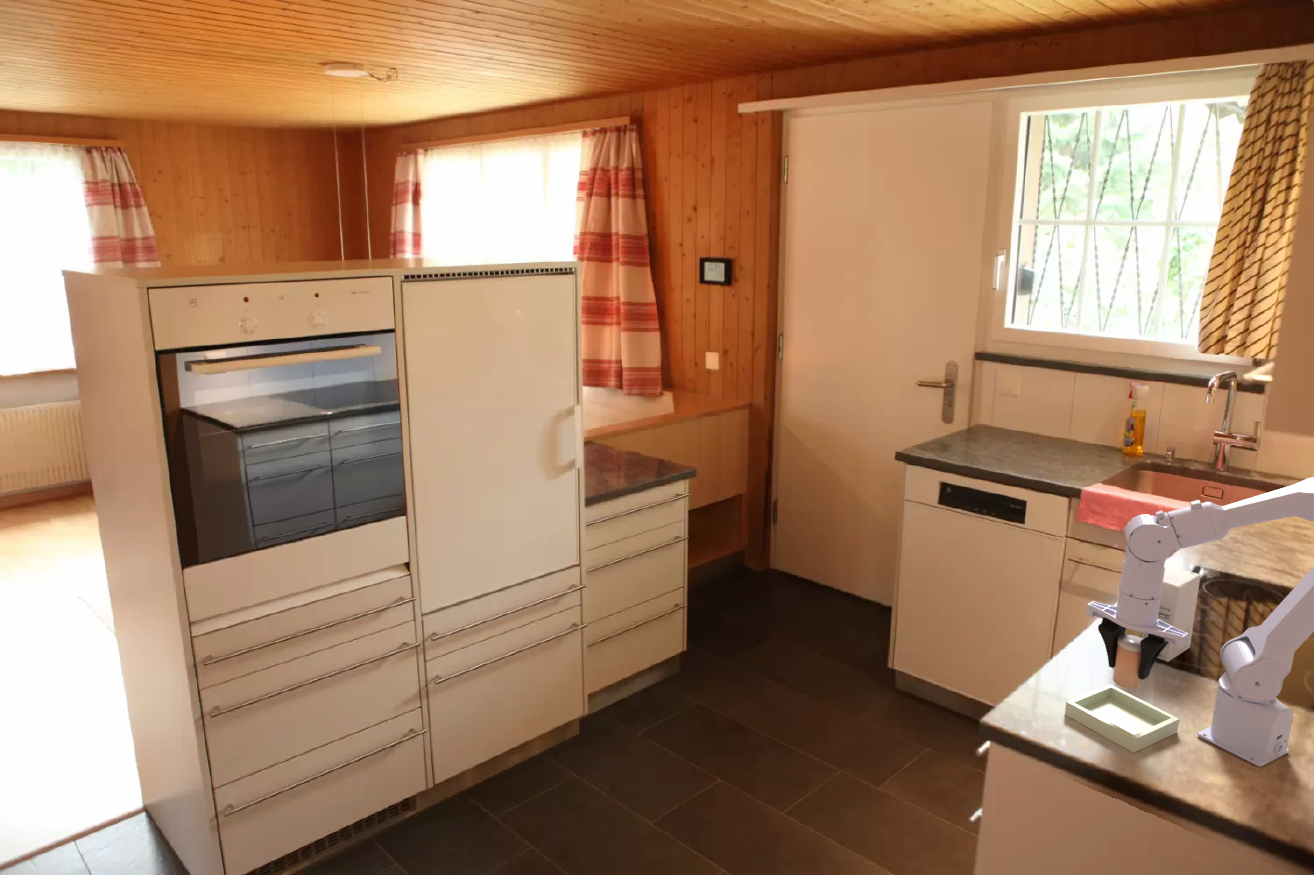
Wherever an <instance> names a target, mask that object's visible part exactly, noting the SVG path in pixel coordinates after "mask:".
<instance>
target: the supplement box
mask: <svg viewBox="0 0 1314 875" xmlns="http://www.w3.org/2000/svg"><path fill="white" fill-rule="evenodd" d="M1164 567H1165V572H1164V579H1163V585H1162V592H1161V599H1160V606H1159V612H1158V619H1159V620H1161V621H1163V622H1165V623H1167V624H1169V625H1171V626H1173V627H1175V628H1177V629H1179V630H1181V631H1184V632H1186V633H1189V635H1188V641H1187V645H1186V646H1184V647H1183V648H1178V647H1176V646H1174V644H1173V643H1170V642H1169V643H1168V644H1167V645H1166V646H1165V648H1164V649H1163V650H1162V651H1161V653H1160V654H1159V656H1158V657H1157V659H1159V660H1162V661H1164V662H1167V663H1169V662H1170V661H1172V660H1173V659H1174V658H1176V657H1178V656H1179V655H1181V654H1182V653H1184V652H1185V651H1188V649H1190V648H1191V643H1192V635H1193V628H1194V623H1195V622H1194V621H1195V617H1196V616H1195V614H1196V609H1197V608H1196V607H1197V604H1198V603H1197V601H1198V594H1199V589H1200V588H1199V587H1200V582H1201V576H1202V575H1201V574H1200V573H1196V572H1192V571H1189V570H1185V569H1184V568H1183V569H1181V568H1179V567H1176V566H1172V565H1169V564H1166V563H1165V564H1164Z"/></svg>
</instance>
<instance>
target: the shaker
mask: <svg viewBox="0 0 1314 875" xmlns="http://www.w3.org/2000/svg"><path fill="white" fill-rule="evenodd" d="M1141 640H1143V638H1140V637H1137V636H1134V635H1121V636H1119V637H1118V641H1117V644H1118V646H1117V653H1116V660H1115V667H1114V668H1113V675H1112V681H1113V682H1114V684H1116V685H1117V686H1119V687H1122V688H1125V689H1130V690H1131V689H1132V690H1135V689H1136V690H1137V689H1140V688H1141V687H1142V683H1143V680H1142V679H1139V678H1138V675H1139V668H1140V663H1141V645H1140V641H1141Z"/></svg>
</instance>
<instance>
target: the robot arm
mask: <svg viewBox="0 0 1314 875" xmlns="http://www.w3.org/2000/svg"><path fill="white" fill-rule="evenodd" d="M1189 504H1190V505H1188V506H1186V507H1182V508H1178V509H1174V510H1170V511H1167V512H1163V510H1158V511H1155V512H1154V513H1155V515H1154V514H1151V515H1150V514H1148V513H1147V514H1139V515H1136V516H1134V517H1132V518H1131V520H1129V521H1128V522H1127V524H1126V525H1125V527H1123V534H1124V537H1125V539H1126V542H1127V544H1126V546H1125V551H1124V559H1123V561H1122V566H1121V574H1120V581H1119V588H1118V595H1117V601H1116V602H1117V603H1116V605H1112V604H1111V605H1110V604H1105V603H1102V602H1097V601H1094V600H1092V601H1091V602H1088V603H1087V604H1086V612H1085V615H1086V616H1087V617H1091V618H1093V617H1096V618H1099V619H1102V620H1101V623H1099V624H1098V627H1097V630H1098V632H1099V634H1100V636H1101V638H1102V640H1103V643H1104V647H1105V650H1106V656H1107V660H1108V661H1107V662H1108V667H1109V668H1112V669H1114V667H1115V660H1116V653H1117V646H1118V644H1117V641H1118V637H1119V636H1121V635H1124V634H1125V631H1126V628H1127V629H1130V630H1135V631H1139V632H1141V633H1144V634H1147V635H1148V637H1146V638H1144V639H1143V640H1141V641H1140V645H1141V663H1140V668H1139V675H1138V678H1139V679H1142V681H1143V680H1146V678H1148V677H1149V676H1150V673H1151V670H1152V668H1153V666H1154V665H1155V662H1156V660H1157V659H1158V658H1157V657H1158V656H1159V654H1160V653H1161V651H1162V650H1163V649H1164V648H1165V646H1166V645H1167V644H1168V643H1169V642H1170V643H1173V644H1174V646H1176V647H1178V648H1183V647H1184V646H1186V645H1187V641H1188V635H1189V633H1186V632H1184V631H1181V630H1179V629H1177V628H1175V627H1173V626H1171V625H1169V624H1167V623H1165V622H1163V621H1161V620H1159V619H1158V612H1159V606H1160V599H1161V592H1162V585H1163V579H1164V572H1165V567H1164V564H1166V559H1168V557H1169V556H1170V555H1171V553H1172V552H1173V551H1178V550H1181V549H1182V550H1183V549H1186V548H1190V547H1194V546H1195V547H1196V546H1198V545H1203V544H1206V543H1211V542H1215V541H1218V540H1219V541H1220V540H1223V539H1225V538H1226V536H1227V535H1228V533H1229V532H1230V531H1231V530H1232V529H1235V528H1239V527H1245V526H1250V525H1254V524H1260V523H1265V522H1266V523H1267V522H1269V521H1275V520H1281V519H1286V518H1291V517H1298V518H1300V519H1303V520H1306V521H1308V522H1311V523H1314V477H1308V478H1306V479H1303V480H1301V481H1298V482H1296V483H1294V484H1292V485H1289V486H1284V487H1281V488H1279V489H1275V490H1272V491H1269V492H1265V493H1261V494H1259V495H1255V496H1252V497H1248V498H1246V499H1245V498H1244V499H1241V500H1239V501H1236V502H1232V503H1228V504H1226V505H1225V504H1224V505H1219V504H1216V503H1214V502H1212V501H1205V502H1201V501H1200V499H1196V500H1193V501H1192V500H1191V501H1190V502H1189ZM1313 633H1314V566H1313V567H1312V568H1311V569H1310V570H1309V571H1308V572H1307V574H1306V575H1304V576H1303V578H1302V579H1301V580H1300V581H1299V582H1298V583H1297V585H1295V587H1294V588H1293V589H1292V590H1291V591H1290V592H1289V593H1288V595H1286V596H1285V598H1284V599H1283V600H1282V601H1281V602H1280V604H1278V606H1276V607H1275V609H1273V611H1272V612H1271V613H1270V614H1269V615H1268V616H1267V618H1265V620H1264V621H1263V622H1262V623H1261V624H1260V625H1256V626H1251V627H1248V628H1247V629H1246V630H1245V631H1244V632H1243V633H1241V634H1240V635H1239V636H1237V637H1235V638H1234V637H1233V638H1232V639H1229V640H1227V641H1226V642H1225V643H1224V644H1223V645H1222V647H1221V649H1220V652H1219V658H1220V661H1221V664H1222V665H1223V666H1224V667H1225V671H1224V673H1223V674H1222V675H1221V677H1220V678H1219V679H1218V685H1217V691H1216V696H1215V702H1214V708H1213V714H1212V720H1211V725H1210V726H1208V727H1206V728H1204V729H1202V730H1200V731H1198V732H1197V736H1198V737H1199V738H1201V739H1204V740H1205V741H1207V742H1210V743H1211V744H1213V745H1215V746H1218V747H1219V748H1221V749H1223V750H1225V751H1227V752H1229V753H1231V754H1233V755H1235V756H1237V757H1239V758H1241V759H1243V760H1244V761H1246V762H1249V763H1251V764H1253V765H1254V766H1257V767H1258V768H1259V767H1263V766H1266V765H1267V764H1269V763H1271V762H1273V761H1274V760H1276V759H1279V758H1280V757H1283V756H1284V755H1286V754H1287V753H1289V751H1290V749H1289V748H1288V745H1289V740H1290V735H1291V729H1292V725H1293V724H1292V723H1293V720H1294V715H1293V714H1294V713H1293V710H1292V709H1291V708H1290V707H1289V706H1287V705H1285V704H1284V703H1282V702H1281V701H1280V700H1279V699H1278V698H1277V696H1279V694H1280V693H1281V690H1282V689H1283V683H1284V680H1285V678H1286V677H1287V676H1288V674H1290V673H1291V671H1292V666H1293V661H1294V656H1295V652H1296V651H1297V650H1298V649H1299V648H1300V647H1301V646H1302V644H1303V643H1304V642H1306V640H1308V638H1309V637H1310V636H1311V635H1312V634H1313Z"/></svg>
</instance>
